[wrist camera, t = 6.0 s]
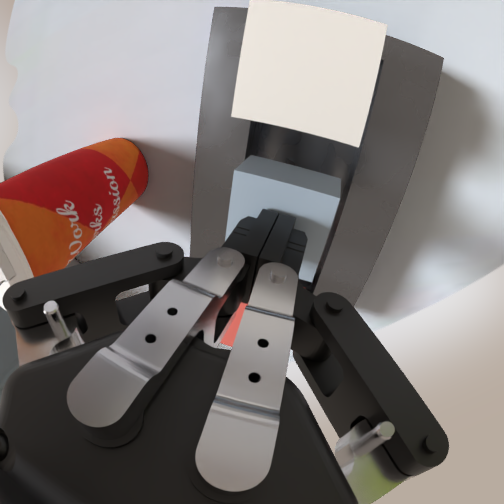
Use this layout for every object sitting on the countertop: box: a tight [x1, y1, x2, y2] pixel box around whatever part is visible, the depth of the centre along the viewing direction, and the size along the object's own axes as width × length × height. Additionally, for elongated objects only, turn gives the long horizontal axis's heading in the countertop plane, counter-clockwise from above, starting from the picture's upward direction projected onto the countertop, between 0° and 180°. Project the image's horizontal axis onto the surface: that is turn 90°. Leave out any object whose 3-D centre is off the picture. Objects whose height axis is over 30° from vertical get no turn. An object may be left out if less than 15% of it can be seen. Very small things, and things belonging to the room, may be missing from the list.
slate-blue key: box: [225, 155, 341, 282], centre depth 15 cm, size 4×4×5 cm
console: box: [190, 7, 444, 307], centre depth 18 cm, size 20×12×4 cm, turn 171°
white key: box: [231, 0, 388, 148], centre depth 10 cm, size 4×4×5 cm
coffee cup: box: [0, 138, 148, 310], centre depth 18 cm, size 8×8×15 cm
